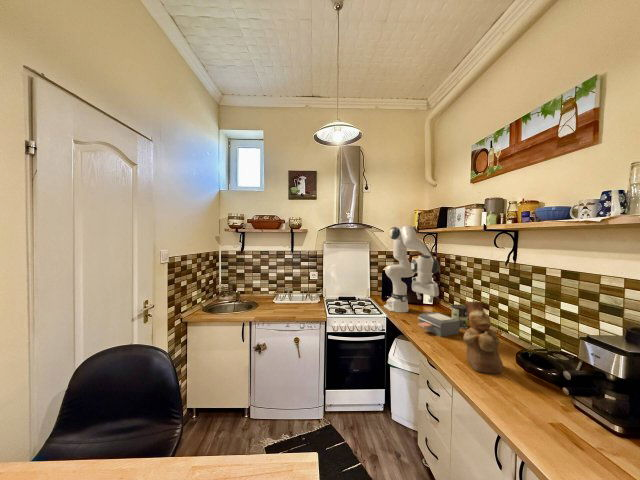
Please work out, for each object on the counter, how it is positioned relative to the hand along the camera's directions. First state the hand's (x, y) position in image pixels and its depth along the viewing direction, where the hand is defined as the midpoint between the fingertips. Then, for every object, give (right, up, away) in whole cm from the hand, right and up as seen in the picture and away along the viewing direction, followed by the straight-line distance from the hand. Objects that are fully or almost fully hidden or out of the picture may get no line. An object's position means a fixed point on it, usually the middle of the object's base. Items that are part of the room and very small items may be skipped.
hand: (424, 300), depth 164 cm
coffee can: (+30, -21, +13) cm, 39 cm away
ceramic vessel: (+11, -22, -39) cm, 46 cm away
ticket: (+7, -17, +3) cm, 18 cm away
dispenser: (+11, -21, +5) cm, 24 cm away
